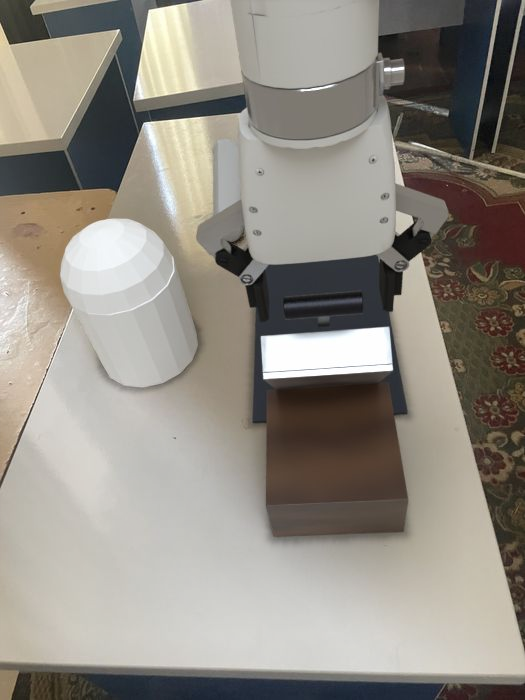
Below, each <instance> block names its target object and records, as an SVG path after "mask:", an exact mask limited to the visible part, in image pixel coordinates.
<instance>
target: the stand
mask: <svg viewBox="0 0 525 700" xmlns="http://www.w3.org/2000/svg"><path fill="white" fill-rule="evenodd" d="M265 437H266V440H265V441H266V442H265V445H266V446H265V448H266V449H265V451H266V452H265V455H266V456H265V508H266V512H267V516H268V519H269V523H270V527H271V531H272V534H273V537H274V538H275V537H277V538H278V537H303V536H327V535H328V536H329V535H330V536H331V535H352V534H355V535H356V534H379V533H380V534H382V533H404V531H405V523H406V517H407V510H408V505H409V496H408V489H407V485H406V483H407V482H406V478H405V471H404V466H403V460H402V454H401V449H400V441H399V436H398V429H397V425H396V418H395V415H394V412H393V406H392V400H391V394H390V388H389V383H388V382H385V383H369V384H354V385H339V386H323V387H308V388H292V389H277V390H267V422H266V436H265Z"/></svg>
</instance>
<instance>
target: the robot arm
mask: <svg viewBox="0 0 525 700" xmlns="http://www.w3.org/2000/svg"><path fill="white" fill-rule="evenodd" d="M229 1H230V7H231V14H232V20H233V27H234V33H235V40H236V46H237V52H238V59H239V65H240V72H241V73H240V74H241V81H242V86H243V92H244V97H245V98H244V99H245V105H246V107H245V108H244V109H243V110H242V111H241V112H240V113H239V115H238V122H237V143H238V163H239V179H240V190H241V200H239V201H238V202H236V203H234V204H233V205H231V206H229V207H228V208H226V209H224V210H223V211H221V212H219V213H218V214H216V215H214V216H213V215H212V216H211V217H209V218H207V219H206V220H204V221H202V222H200V223H199V224H198V225H197V228H196V230H197V231H196V235H195V236H196V237H195V240H196V242H197V243H198V244H199V246H201V248H202V249H204V251H205V252H206V253H207V254H208V255H210V256H212V257H213V259H214V261H215V264H216V265H217V266H218V267H219V268H222V269H224V270H225V271H227V272H229V273H231V274H232V275H235V276H236V277H237V278H238V282H239V283H240V284H241V285H243V286H245V291H246V297H247V301H248V305H249V308H256V307H257V309H258V314H259V319H260V322H267V320H269V291H268V285H267V279H266V273H265V269H266V268H267V267H268V265H269V264H273V265H276V264H293V263H305V262H317V261H328V260H338V259H348V258H357V257H365V256H372V255H377V256H378V258H379V263H380V266H379V290H380V295H381V301H382V307H383V311H384V310H386V312H389V313H392V312H393V311H394V305H395V304H394V303H395V301H394V300H395V296H402V293H403V292H402V291H403V278H404V272H405V271H406V270H408V269H409V267H410V261H412V260H413V259H415V258H416V257H417V256H418V255H419V254H421V253H422V252H423V251H425V250H426V249H427V248H429V246H430V245H431V244H432V241H433V240H432V238H433V237H434V236H435V235H437V233H438V232H439V231H440V229H441V228H442V227H443V225H444V224H445V223H446V221H447V220H448V218H449V216H450V212H449V209H448V206H447V203H446V201H445V200H444V199H441V198H439V197H436V196H433V195H431V194H428V193H424V192H421V191H419V190H416V189H413V188H411V187H408V186H404V185H401V184H399V183H397V182H396V164H395V163H396V162H395V156H394V143H393V131H392V121H391V115H390V109H389V105H388V104H389V103H388V100H387V98H386V96H384V90H385V91H386V90H390V89H391V87H393V86H401V85H404V83H405V73H406V71H405V68H406V67H405V60H404V58H399V59H398V58H396V59H390V57H383V54H382V52H379V25H380V24H379V21H380V16H379V15H380V0H229ZM397 212H399V213H402V214H405V215H408V216H411V217H414V218H417V221H415V222H413V223H412V224H410V226H408V227H407V228H406V229H405V230H404V231H403V232H401V233H398V232H397V231H396V227H397ZM241 227H243V228H244V232H245V236H246V243H247V244H246V246H245V247H244V248H241V247H239V246H238V245H236V244H234V243H233V242H230V241H227V240H225V238H224V237H225V236H227V235H229V234H231V233H232V232H234V231H236V230H238V229H239V228H241Z"/></svg>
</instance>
